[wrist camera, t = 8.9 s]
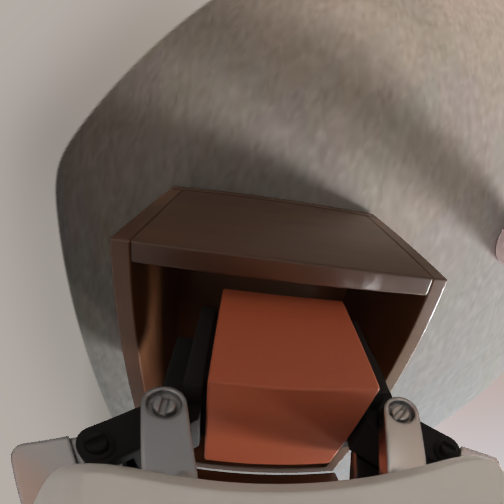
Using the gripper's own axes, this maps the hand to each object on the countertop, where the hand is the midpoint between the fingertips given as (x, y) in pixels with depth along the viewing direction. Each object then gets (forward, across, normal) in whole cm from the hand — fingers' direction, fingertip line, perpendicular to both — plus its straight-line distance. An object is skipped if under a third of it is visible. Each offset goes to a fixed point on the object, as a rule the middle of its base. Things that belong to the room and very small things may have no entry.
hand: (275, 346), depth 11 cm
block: (0, 0, 0) cm, 0 cm away
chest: (+9, 0, +4) cm, 9 cm away
